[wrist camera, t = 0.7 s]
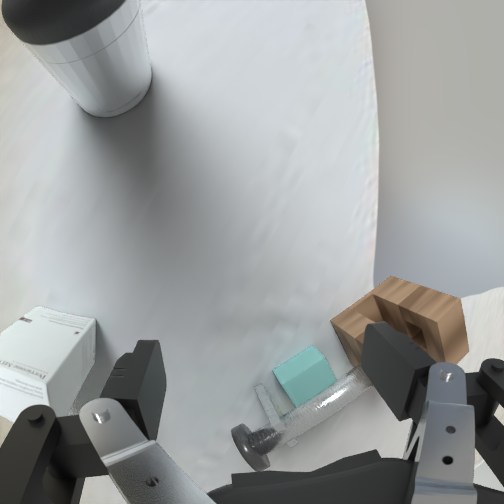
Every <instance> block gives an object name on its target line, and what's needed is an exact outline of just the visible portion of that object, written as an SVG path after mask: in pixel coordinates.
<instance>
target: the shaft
mask: <svg viewBox="0 0 504 504" xmlns="http://www.w3.org/2000/svg"><path fill="white" fill-rule="evenodd" d="M372 386H373V384H372V383H371V381H370V380H369V378H368V377H367V376H366V374H365V373H364V371H363V369H362V366H361V363H360V364H359V365H358V366H356V367H355V368H354V369H352V370H351V371H350V372H348V373H347V374H345V375H344V376H343V377H341V378H340V379H338V380H337V381H335V382H334V383H333V384H331V385H330V386H328V387H327V388H325V389H324V390H322V391H321V392H319V393H318V394H316V395H315V396H313V397H312V398H310V399H308V400H307V401H305V402H304V403H302V404H301V405H299V406H297V407H296V408H294V409H292V410H291V411H289V412H288V413H286V414H284V415H282V413H281V411H280V410H279V408H278V406H277V404H276V403H275V402H274V400H273V399H272V398H271V396H270V395H269V393H268V392H267V391H266V389H265V388H264V387H263V385H262V384H260V385H258V386H256V387H255V390H256V392H257V394H258V397H259V399H260V401H261V403H262V405H263V407H264V409H265V412H266V414H267V416H268V418H269V420H270V422H271V423H269V424H267V425H265V426H263V427H262V428H260V429H258V430H256V431H254V432H253V433H252V432H251V431H250V429H249V428H248V427H247V426H246V425H244V424H240V425H238V426H236V427H234V428H233V429H232V430H231V433H232V437H233V440H234V442H235V444H236V446H237V448H238V450H239V452H240V453H241V455H242V456H243V458H244V459H245V460H246V462H247V463H248V464H249V465H250V466H251V467H252V468H253V469H254V470H255V471H257V472H260V471H262V470H264V469H266V468H268V467H270V462H269V459H268V457H267V455H266V454H268V453H269V452H271V451H273V450H275V449H277V448H279V447H280V446H282V445H284V444H286V443H287V444H288V446H289V447H290V448H291V447H293V446H295V445H296V444H298V442H297V440H296V437H298V436H299V435H301V434H303V433H304V432H306V431H308V430H309V429H311V428H313V427H314V426H316V425H317V424H319V423H320V422H322V421H324V420H325V419H327V418H328V417H330V416H331V415H333V414H334V413H336V412H337V411H339V410H340V409H341V408H343V407H344V406H346V405H347V404H349V403H350V402H351V401H353V400H354V399H356V398H357V397H358V396H360V395H361V394H363V393H364V392H365V391H367V390H368V389H369V388H371V387H372Z"/></svg>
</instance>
